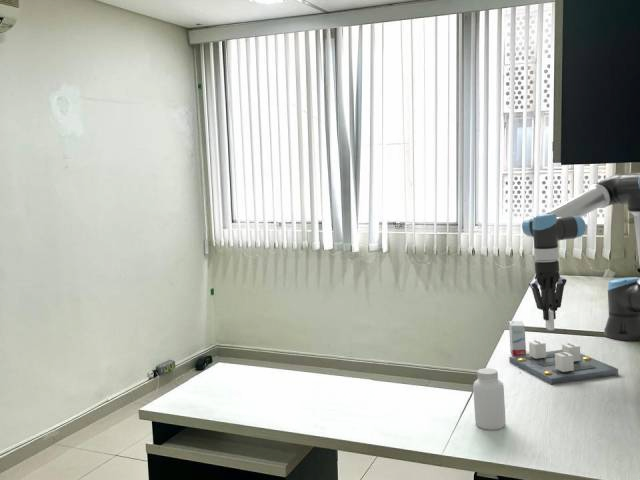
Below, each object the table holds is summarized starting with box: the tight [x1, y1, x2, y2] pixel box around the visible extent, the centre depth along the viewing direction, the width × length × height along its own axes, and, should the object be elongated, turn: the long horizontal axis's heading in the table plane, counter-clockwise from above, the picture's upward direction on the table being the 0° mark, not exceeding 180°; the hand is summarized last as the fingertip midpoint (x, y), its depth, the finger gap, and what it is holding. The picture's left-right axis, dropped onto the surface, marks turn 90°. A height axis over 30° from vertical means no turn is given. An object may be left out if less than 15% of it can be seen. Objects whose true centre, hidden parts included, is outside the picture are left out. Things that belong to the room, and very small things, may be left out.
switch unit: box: [508, 349, 619, 386], centre depth 205 cm, size 24×26×2 cm
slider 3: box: [555, 352, 574, 372], centre depth 196 cm, size 4×4×5 cm
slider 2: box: [561, 342, 581, 362], centre depth 206 cm, size 4×4×5 cm
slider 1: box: [528, 339, 547, 359], centre depth 212 cm, size 4×4×5 cm
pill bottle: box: [472, 367, 506, 431], centre depth 163 cm, size 8×8×15 cm
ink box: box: [508, 320, 527, 357], centre depth 224 cm, size 9×5×12 cm, turn 168°
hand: (550, 329), depth 203 cm, fingers closed
